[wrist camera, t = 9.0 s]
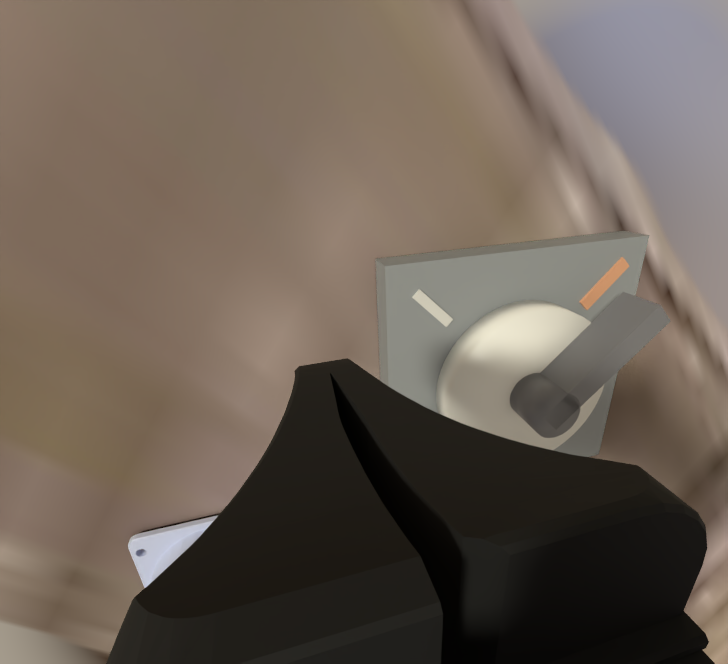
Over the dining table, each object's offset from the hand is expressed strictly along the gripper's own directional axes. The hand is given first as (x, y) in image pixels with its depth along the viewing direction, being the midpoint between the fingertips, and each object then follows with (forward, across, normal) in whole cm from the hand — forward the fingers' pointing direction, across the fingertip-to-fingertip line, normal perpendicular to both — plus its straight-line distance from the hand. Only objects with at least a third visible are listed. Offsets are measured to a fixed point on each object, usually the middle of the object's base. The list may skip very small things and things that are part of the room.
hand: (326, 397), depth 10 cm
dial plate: (+9, -11, +6) cm, 16 cm away
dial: (+8, -11, +6) cm, 15 cm away
